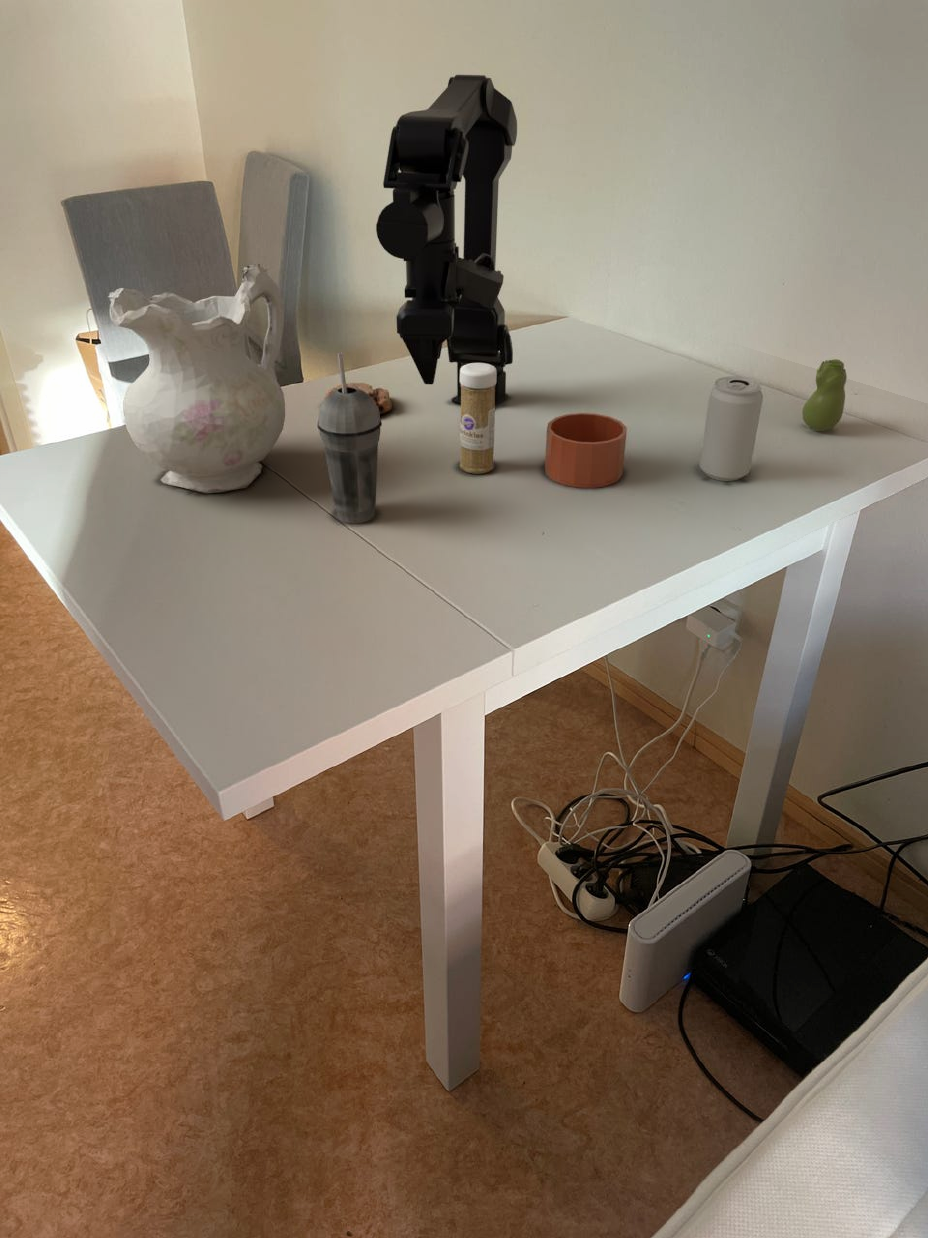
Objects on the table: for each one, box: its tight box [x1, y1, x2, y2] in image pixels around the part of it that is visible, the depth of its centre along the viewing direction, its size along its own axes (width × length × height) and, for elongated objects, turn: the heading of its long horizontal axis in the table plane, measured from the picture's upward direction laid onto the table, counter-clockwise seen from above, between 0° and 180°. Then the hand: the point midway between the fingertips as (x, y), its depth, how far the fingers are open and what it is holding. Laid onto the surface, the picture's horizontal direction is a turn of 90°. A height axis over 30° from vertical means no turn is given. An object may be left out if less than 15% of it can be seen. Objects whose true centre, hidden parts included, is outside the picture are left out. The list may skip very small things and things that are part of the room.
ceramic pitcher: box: [108, 263, 286, 494], centre depth 118 cm, size 22×20×25 cm
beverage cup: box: [317, 351, 383, 525], centre depth 109 cm, size 7×7×20 cm
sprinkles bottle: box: [459, 363, 497, 475], centre depth 122 cm, size 5×5×14 cm
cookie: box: [323, 382, 393, 415], centre depth 143 cm, size 10×11×3 cm
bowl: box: [544, 412, 628, 489], centre depth 123 cm, size 10×10×6 cm
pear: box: [801, 358, 848, 432], centre depth 134 cm, size 6×5×10 cm
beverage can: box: [699, 375, 764, 482], centre depth 121 cm, size 6×6×12 cm
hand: (432, 370), depth 119 cm, fingers open, 9 cm apart
